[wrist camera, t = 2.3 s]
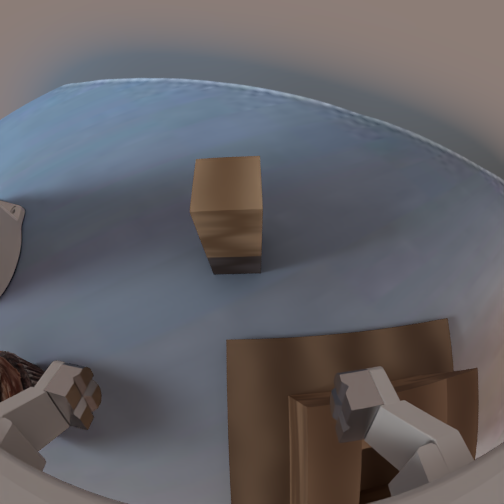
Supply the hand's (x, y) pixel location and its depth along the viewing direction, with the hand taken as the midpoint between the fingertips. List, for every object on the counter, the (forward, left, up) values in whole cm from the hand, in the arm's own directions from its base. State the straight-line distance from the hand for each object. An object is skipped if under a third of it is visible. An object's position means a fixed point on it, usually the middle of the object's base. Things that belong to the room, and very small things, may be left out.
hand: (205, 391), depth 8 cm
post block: (+12, -2, -16) cm, 21 cm away
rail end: (-6, +11, -16) cm, 21 cm away
